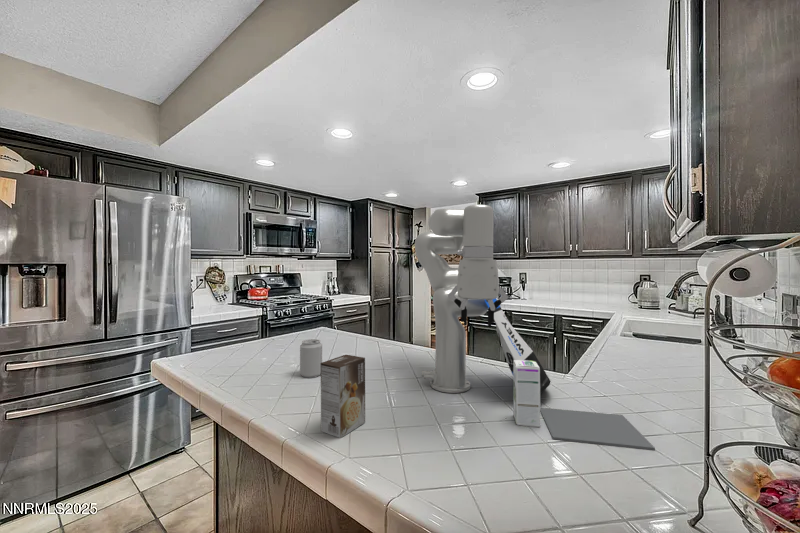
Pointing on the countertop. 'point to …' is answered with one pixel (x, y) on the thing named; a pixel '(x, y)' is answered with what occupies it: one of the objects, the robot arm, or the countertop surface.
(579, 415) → the mat
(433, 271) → the robot arm
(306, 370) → the can
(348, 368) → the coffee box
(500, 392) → the countertop surface
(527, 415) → the syrup box
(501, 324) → the protein powder
